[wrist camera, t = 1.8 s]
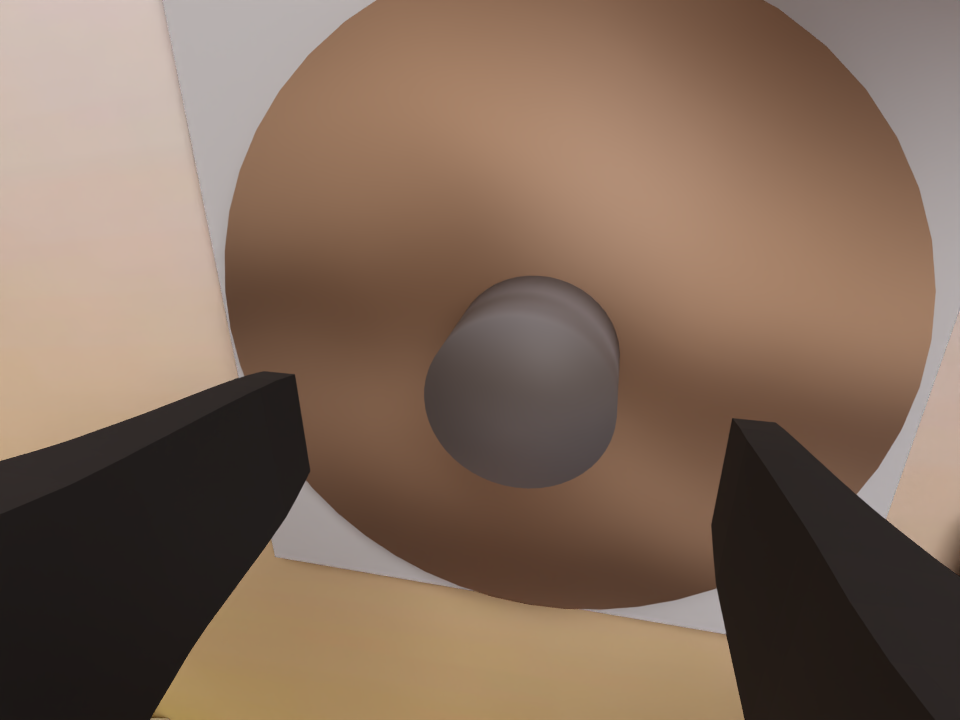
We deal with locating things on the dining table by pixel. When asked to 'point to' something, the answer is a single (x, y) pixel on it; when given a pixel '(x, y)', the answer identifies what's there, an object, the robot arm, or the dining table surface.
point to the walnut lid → (575, 279)
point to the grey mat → (811, 3)
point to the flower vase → (159, 719)
